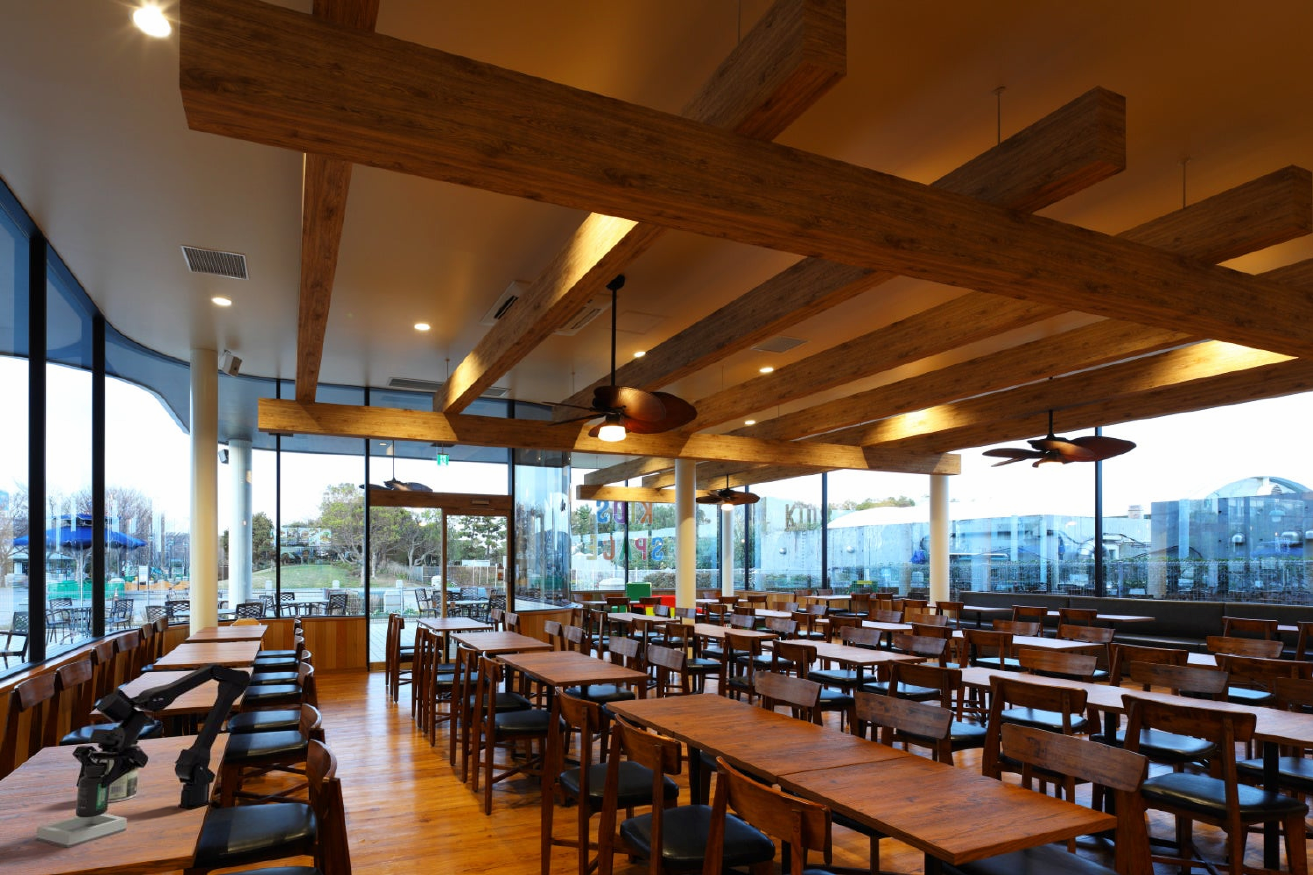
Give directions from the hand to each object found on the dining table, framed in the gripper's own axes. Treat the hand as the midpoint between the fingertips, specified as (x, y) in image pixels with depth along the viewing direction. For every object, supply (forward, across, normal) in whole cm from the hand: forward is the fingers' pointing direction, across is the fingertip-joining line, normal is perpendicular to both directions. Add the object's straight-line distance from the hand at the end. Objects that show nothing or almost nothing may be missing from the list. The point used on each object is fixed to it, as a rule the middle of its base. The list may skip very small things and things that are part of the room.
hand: (90, 787), depth 206 cm
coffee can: (-14, -23, +34) cm, 44 cm away
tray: (+7, -5, +12) cm, 15 cm away
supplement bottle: (+4, 0, +6) cm, 7 cm away
